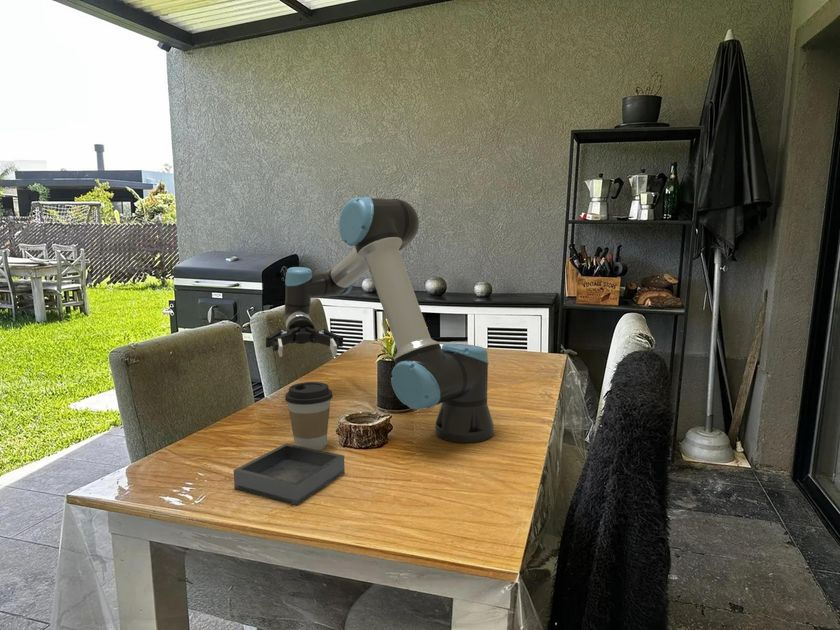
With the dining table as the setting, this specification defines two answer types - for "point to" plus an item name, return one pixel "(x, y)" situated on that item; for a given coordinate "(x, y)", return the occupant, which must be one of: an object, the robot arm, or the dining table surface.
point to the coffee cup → (309, 413)
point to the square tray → (289, 473)
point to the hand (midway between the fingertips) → (308, 351)
